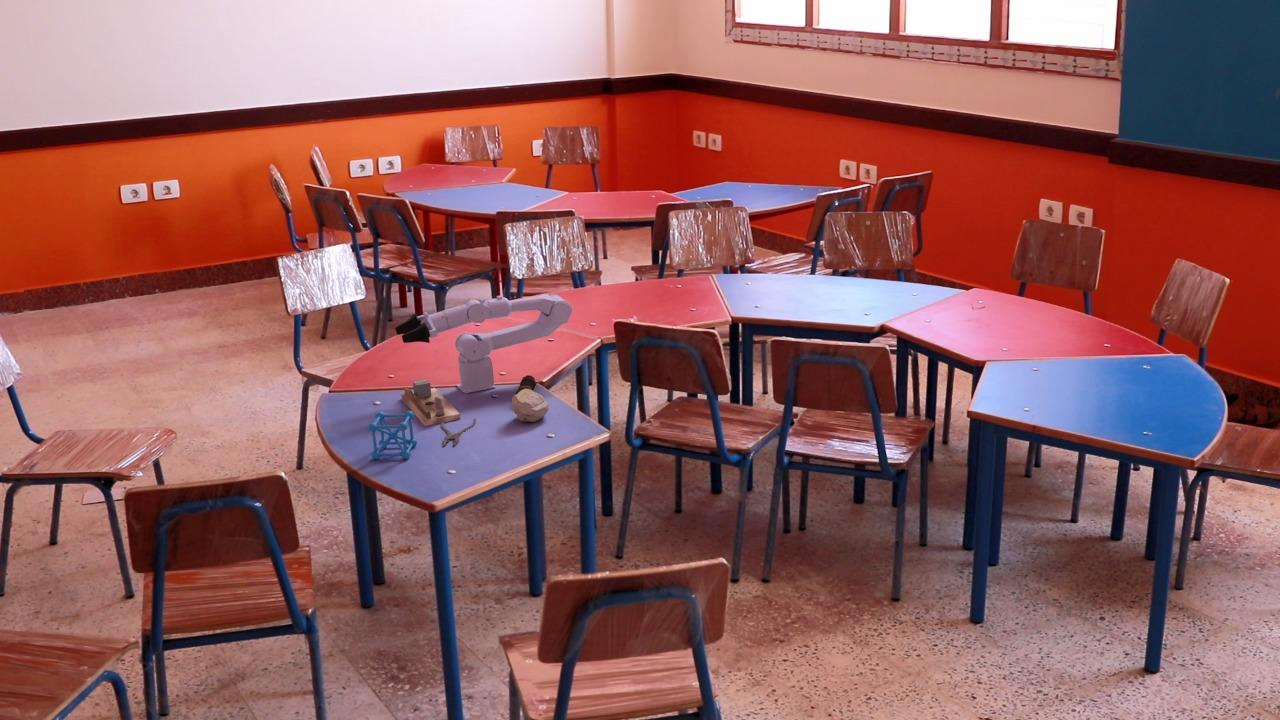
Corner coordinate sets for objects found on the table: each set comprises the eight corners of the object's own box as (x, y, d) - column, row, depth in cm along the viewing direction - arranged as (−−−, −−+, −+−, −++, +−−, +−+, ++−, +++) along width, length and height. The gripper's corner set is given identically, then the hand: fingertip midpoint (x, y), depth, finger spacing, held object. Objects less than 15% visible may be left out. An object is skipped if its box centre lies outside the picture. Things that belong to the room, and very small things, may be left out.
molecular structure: (370, 461, 312) (366, 424, 309) (380, 445, 321) (376, 410, 318) (409, 460, 311) (405, 424, 308) (418, 445, 321) (414, 409, 318)
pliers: (475, 415, 338) (480, 442, 320) (476, 418, 338) (480, 445, 320) (440, 418, 337) (442, 446, 318) (440, 421, 337) (442, 449, 318)
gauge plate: (435, 392, 358) (433, 371, 356) (460, 418, 337) (458, 396, 335) (401, 398, 354) (399, 377, 352) (425, 425, 333) (422, 403, 331)
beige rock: (550, 410, 341) (514, 415, 341) (545, 381, 339) (509, 387, 339) (551, 423, 330) (514, 428, 329) (546, 393, 327) (509, 399, 327)
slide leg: (427, 391, 353) (426, 378, 352) (431, 395, 350) (430, 382, 349) (413, 394, 352) (412, 380, 350) (417, 398, 348) (416, 384, 347)
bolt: (532, 391, 361) (527, 408, 346) (517, 384, 360) (511, 400, 346) (541, 375, 359) (536, 391, 345) (526, 367, 358) (520, 383, 344)
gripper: (434, 300, 356) (389, 314, 351) (448, 315, 343) (401, 330, 339) (440, 322, 358) (396, 337, 354) (454, 337, 346) (408, 352, 342)
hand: (399, 335), depth 347 cm, fingers open, 7 cm apart
